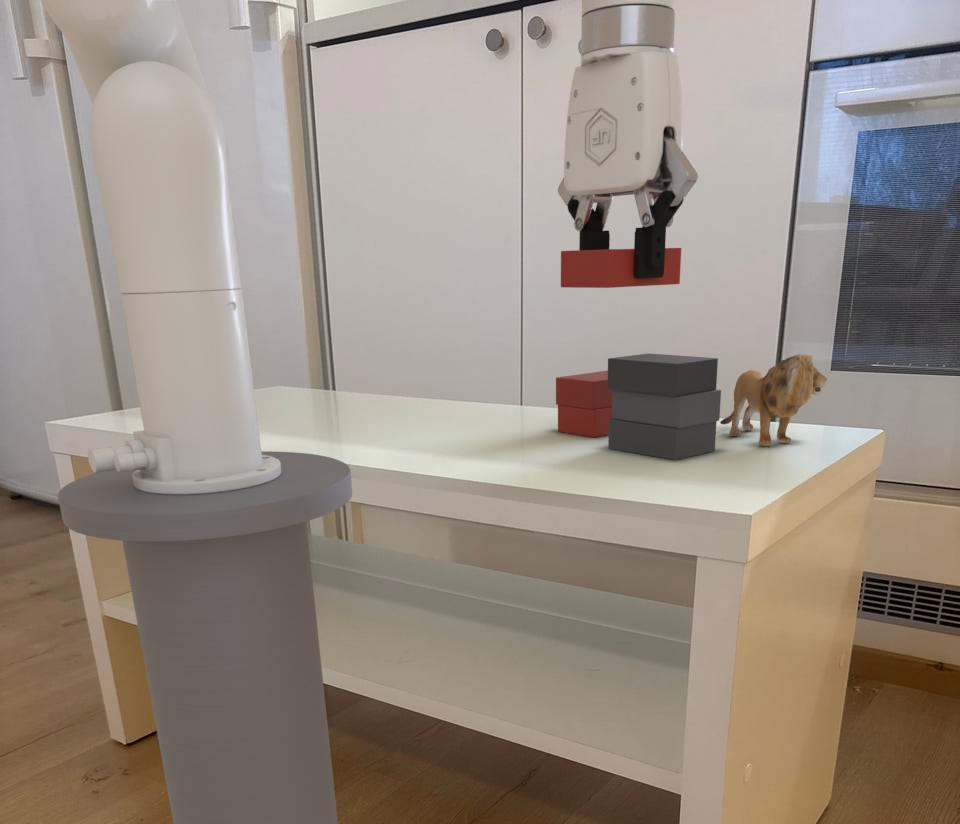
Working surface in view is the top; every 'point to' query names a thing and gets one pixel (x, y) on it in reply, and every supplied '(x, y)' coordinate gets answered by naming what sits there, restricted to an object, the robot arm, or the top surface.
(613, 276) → the red rectangular block
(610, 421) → the grey blocks
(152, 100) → the robot arm
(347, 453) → the top surface
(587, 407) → the red blocks
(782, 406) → the lion figurine
